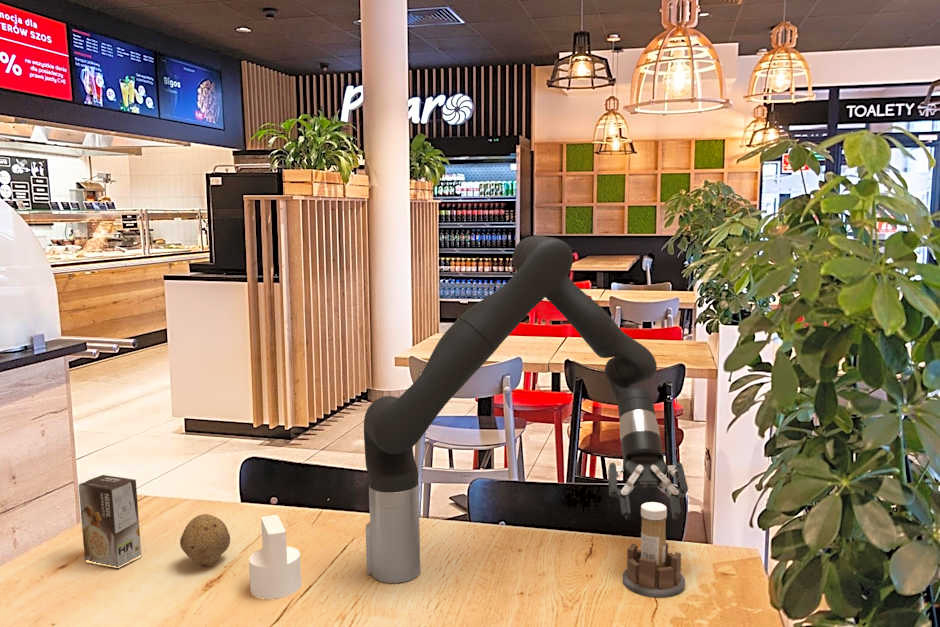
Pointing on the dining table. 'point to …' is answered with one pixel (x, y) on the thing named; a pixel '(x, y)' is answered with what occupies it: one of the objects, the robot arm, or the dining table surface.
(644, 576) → the castellated collar
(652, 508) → the sprinkles bottle
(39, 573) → the dining table surface
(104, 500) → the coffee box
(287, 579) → the base with upright slab
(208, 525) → the brown potato
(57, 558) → the dining table surface
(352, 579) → the dining table surface
